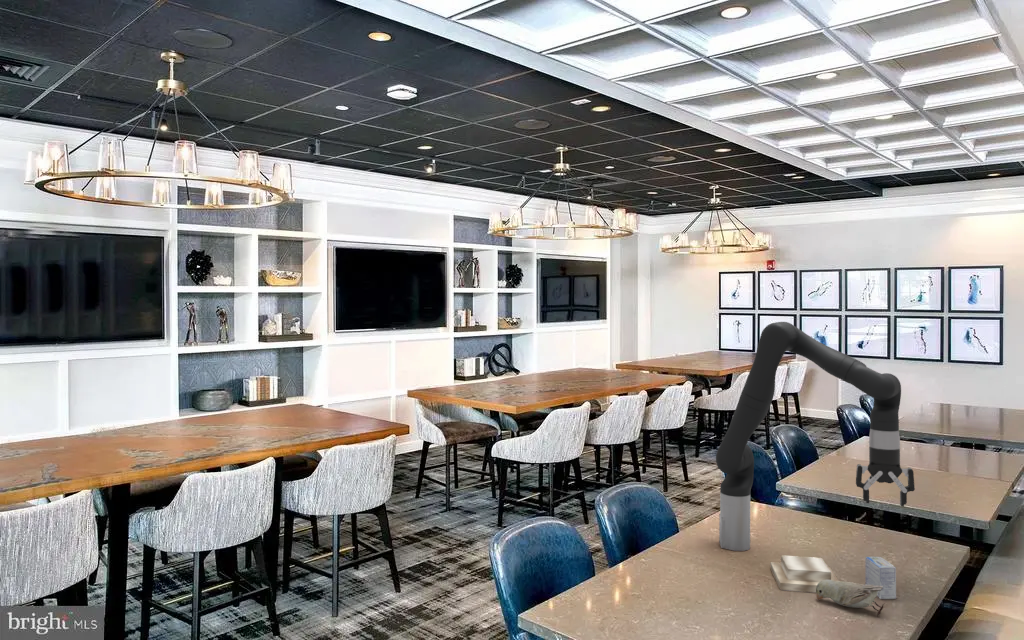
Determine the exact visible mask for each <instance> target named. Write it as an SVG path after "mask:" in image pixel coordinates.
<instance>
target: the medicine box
mask: <svg viewBox="0 0 1024 640" xmlns="http://www.w3.org/2000/svg"><path fill="white" fill-rule="evenodd" d="M865 585H873V586H876V585H880V586H883V587H882V588H883V589H881V590H882V591H877V593H878V594H877V596H876V598H877V597H878V598H879V599H880V600H895V599H897V567H896V566H895V565H893V564H892V563H890V562H889V561H888V560H886V559H885V558H883V557H881V556H865Z"/></svg>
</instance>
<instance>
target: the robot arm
mask: <svg viewBox="0 0 1024 640" xmlns="http://www.w3.org/2000/svg"><path fill="white" fill-rule="evenodd" d="M786 352H789V353H792V354H796V355H798V356H801V357H802V358H806V359H807V360H809V361H810V362H813V363H814V364H815V365H817V366H818V367H819V368H820V369H821V370H823V371H825V372H826V373H828V374H829V375H831V376H833V377H835V378H837V379H839V380H841V381H844V382H845V383H848V384H849V385H852V386H853V387H855V388H856V389H858V391H861V392H862V393H864V394H866V395H867V396H869V397H871V398H873V407H872V409H871V411H870V415H869V426H870V429H869V437H868V444H869V445H868V451H869V457H868V460H869V463H868V465H861V464H860V463H858V464H857V465H856V471H855V472H856V473H855V484H856V485H855V486H856V487H858V488H861V489H862V498H863V501H864V502H865V503H866V504H870V489H871V487H872V486H873V485H874V484H875V483H876V482H877V483H880V484H883V483H886V484H893V483H895V485H896V486H897V487H898V488H899V489H900V491H899V505H900V507H905V505H907V502H908V501H907V500H908V498H907V497H908V496H907V495H908V492H914V491H915V489H916V488H915V476H914V475H915V474H914V470H913V468H912V467H907V468H902V467H901V438H900V429H899V428H900V424H899V423H900V422H899V421H900V417H899V412H900V411H899V409H900V406H901V405H900V404H901V398H902V397H901V396H902V383H901V382H900V380H899V378H898V377H897V376H896V375H894V374H893V373H887V372H886V373H885V372H884V373H880V372H878V371H876V370H874V369H872V368H870V367H867V364H865V363H864V362H862V361H861V360H858V359H856V358H854V357H852V356H850V355H848V354H845V353H843V352H841V351H839V350H837V349H834V348H833V347H830V346H829V345H827V344H824V343H822V342H820V341H818V340H817V339H815V338H814V337H812V336H810V335H809V334H808V333H806V332H804V331H803V330H801V329H799V328H798V327H797V326H795V325H794V324H792V323H790V322H788V321H777V322H772V323H769V324H768V325H766V326H765V327H764V328H763V329H762V331H761V334H760V337H759V341H758V345H757V350H756V353H755V356H754V360H753V363H752V366H751V368H750V371H749V373H748V374H747V377H746V381H745V383H744V385H743V388H742V391H741V393H740V396H739V399H738V401H737V404H736V407H735V410H734V412H733V416H732V418H731V421H730V424H729V426H728V428H727V431H726V433H725V434H724V437H723V439H722V441H721V443H720V444H719V446H718V448H717V451H716V455H715V462H716V463H715V464H716V466H717V468H718V469H719V470H720V472H722V473H724V474H725V475H726V476H725V478H724V479H723V481H721V483H720V487H719V488H720V496H719V497H720V499H719V501H720V503H719V511H720V513H719V520H718V521H719V529H718V530H719V531H718V533H719V537H718V538H719V540H718V541H719V546H720V549H726V550H730V551H737V552H742V551H748V550H750V548H751V489H752V487H753V485H754V484H753V483H754V474H755V473H754V472H755V471H754V470H755V469H754V468H755V458H754V453H753V451H752V449H751V447H750V446H749V445H748V442H749V440H750V438H751V436H752V435H753V434H754V432H755V431H756V429H757V428H758V427H759V426H760V425H761V424H762V422H763V421H764V419H765V418H766V416H767V414H768V412H769V410H770V408H771V405H772V401H773V399H774V396H775V389H776V375H777V371H778V367H779V365H780V362H781V361H782V358H783V356H784V354H785V353H786ZM866 472H868V473H869V474H870V475H869V477H868V478H867V480H866V481H865V482H864V483H863V481H862V480H863V479H862V477H863V475H864V474H865V473H866ZM902 474H904V476H905V477H906V478H907V485H904V484H903V483H902V481H901V480H900V479H899V477H900V476H901V475H902Z"/></svg>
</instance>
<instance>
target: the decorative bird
mask: <svg viewBox="0 0 1024 640" xmlns="http://www.w3.org/2000/svg"><path fill="white" fill-rule="evenodd" d="M882 587H883V586H880V585H876V586H873V585H866V584H861V583H858V582H852V581H840V580H839V581H833V580H822V581H820V582H819V583H818V585H817V587H816V593H815V594H816V595H815V596H816V600H817V601H819V600H822V599H825V598H826V599H830V600H832V601H833V602H834V603H836V604H838V605H840V606H843V607H848V608H858V609H859V608H868V607H869V606H870V607H872V608H873V609H874V610H875V611H877V613H876V616H877V618H878V617H879V616H878V615H880V614H881V612H882V610H883V609H884V605H885V603H883V604H882V605H879V604H878V603H877V601H876V600H875V599H876V598H877V594H878V593H877V591H882V590H881V589H883V588H882ZM873 603H874V604H875V605H876V606H877V607H879V609H877V608H875V606H874V605H873Z"/></svg>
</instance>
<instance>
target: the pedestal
mask: <svg viewBox="0 0 1024 640" xmlns="http://www.w3.org/2000/svg"><path fill="white" fill-rule="evenodd" d="M770 571H771V574H772V575H773V577H774V580H775V582H776V584H777V586H778V589H779V591H787V592H789V591H790V592H802V593H814V594H816V587H817V585H818V583H819V582H820V581H822V580H833V581H840V580H839V579H838V578H837V576H836V574H835V573H834V571H833V570H832V568H831V567H830V566H829V565H827V564H826V562H825V561H824V559H823V558H822V557H813V556H812V557H811V556H797V555H780V562H779V561H777V562H776V561H775V562H774V561H770Z"/></svg>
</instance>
